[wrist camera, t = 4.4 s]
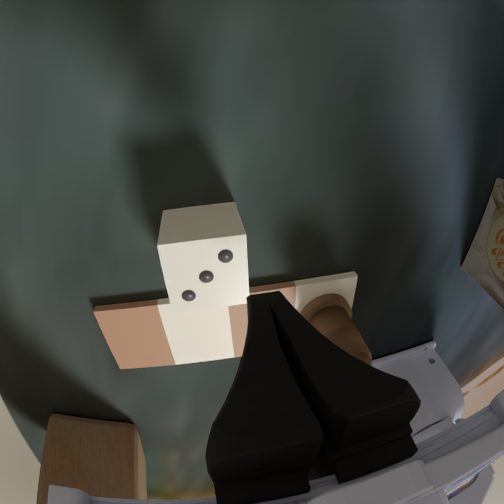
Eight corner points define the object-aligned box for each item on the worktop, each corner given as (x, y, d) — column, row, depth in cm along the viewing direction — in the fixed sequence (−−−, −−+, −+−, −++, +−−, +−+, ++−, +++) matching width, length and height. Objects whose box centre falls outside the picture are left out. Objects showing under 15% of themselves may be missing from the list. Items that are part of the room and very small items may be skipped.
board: (354, 271, 22) (358, 275, 21) (343, 331, 25) (345, 336, 24) (95, 306, 19) (93, 311, 19) (121, 363, 23) (120, 369, 22)
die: (234, 201, 18) (246, 234, 14) (238, 261, 20) (249, 303, 16) (163, 209, 17) (157, 245, 14) (174, 269, 19) (172, 313, 16)
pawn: (351, 289, 22) (394, 355, 16) (344, 327, 24) (378, 392, 18) (300, 298, 21) (334, 372, 16) (297, 337, 23) (325, 407, 18)
